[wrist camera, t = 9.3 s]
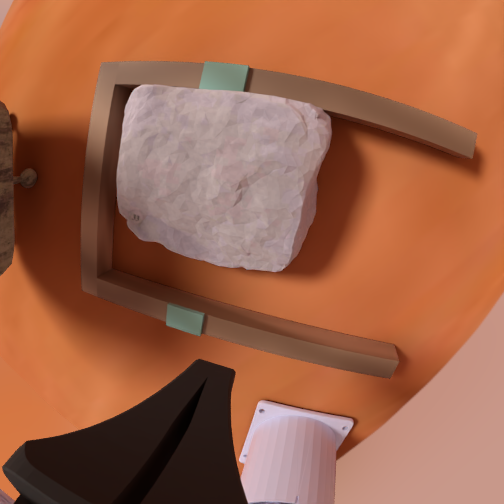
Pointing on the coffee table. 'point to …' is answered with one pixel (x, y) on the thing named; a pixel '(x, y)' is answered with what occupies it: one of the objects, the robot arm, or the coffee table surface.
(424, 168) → the coffee table surface
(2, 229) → the tabletop clock
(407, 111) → the channel
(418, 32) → the coffee table surface
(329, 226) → the coffee table surface
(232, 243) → the stone block
